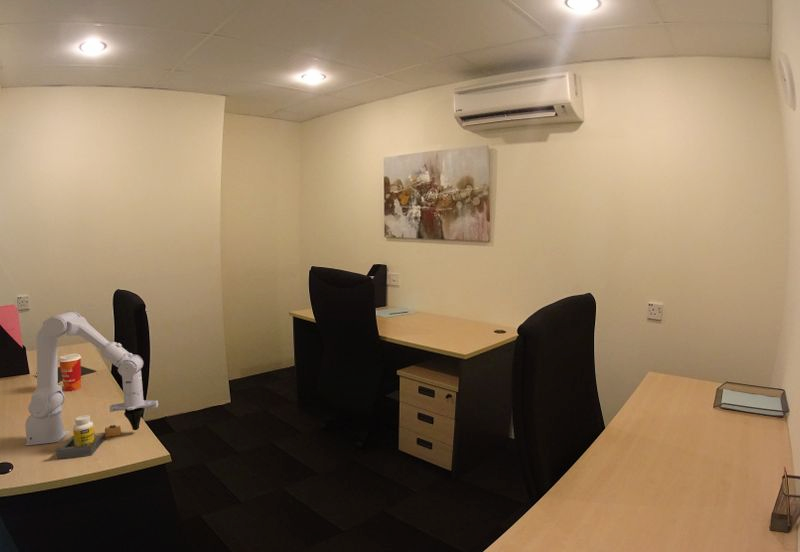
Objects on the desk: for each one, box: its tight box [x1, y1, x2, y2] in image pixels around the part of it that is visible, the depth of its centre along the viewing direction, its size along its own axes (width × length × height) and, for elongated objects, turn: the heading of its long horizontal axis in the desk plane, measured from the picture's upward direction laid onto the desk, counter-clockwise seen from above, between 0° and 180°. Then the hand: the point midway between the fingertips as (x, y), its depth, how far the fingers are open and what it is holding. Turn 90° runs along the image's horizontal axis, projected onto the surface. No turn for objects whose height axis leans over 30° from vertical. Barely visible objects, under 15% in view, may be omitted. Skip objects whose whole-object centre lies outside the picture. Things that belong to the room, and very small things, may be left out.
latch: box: [104, 424, 122, 437], centre depth 154 cm, size 4×1×3 cm, turn 104°
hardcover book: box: [35, 365, 98, 383], centre depth 215 cm, size 16×23×2 cm
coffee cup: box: [58, 353, 82, 392], centre depth 197 cm, size 8×8×15 cm
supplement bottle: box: [72, 414, 95, 447], centre depth 146 cm, size 5×5×10 cm
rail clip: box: [55, 432, 106, 460], centre depth 146 cm, size 10×14×3 cm, turn 14°
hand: (136, 428), depth 156 cm, fingers closed
